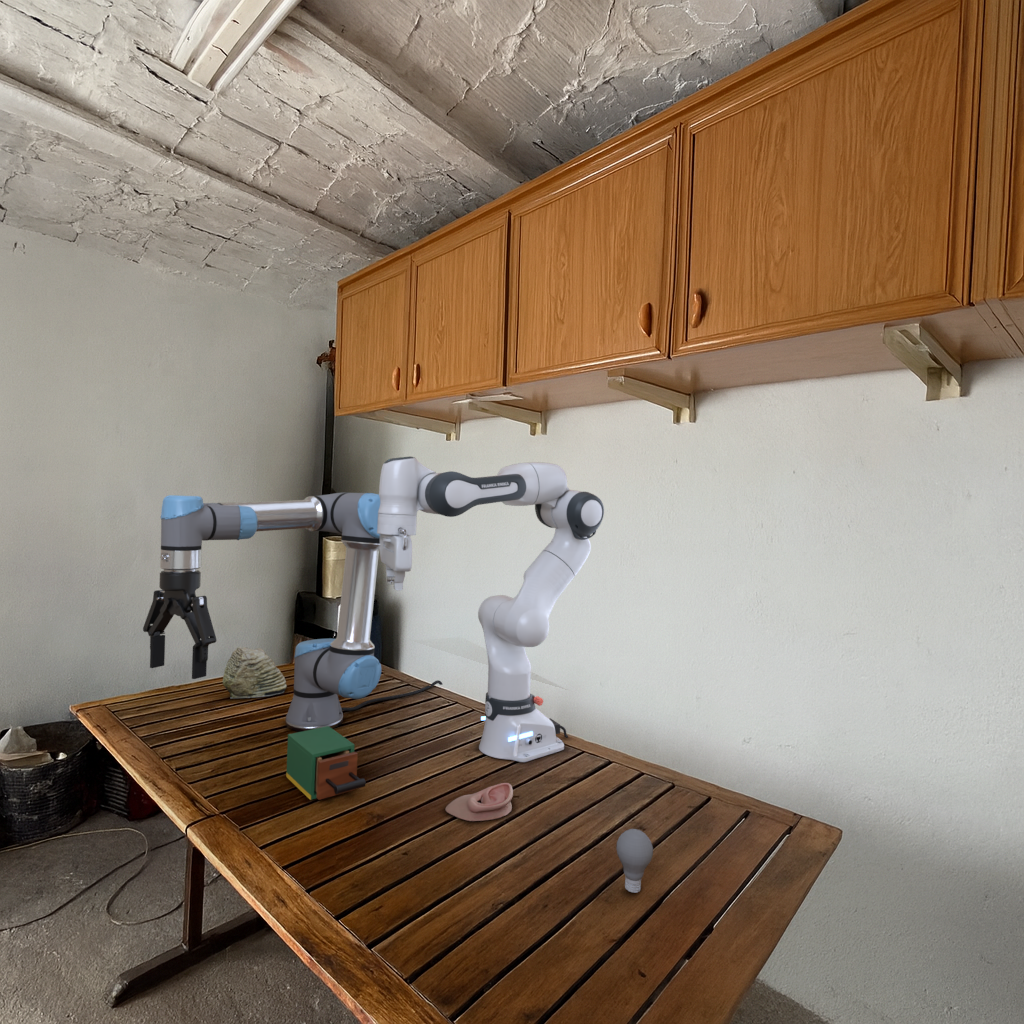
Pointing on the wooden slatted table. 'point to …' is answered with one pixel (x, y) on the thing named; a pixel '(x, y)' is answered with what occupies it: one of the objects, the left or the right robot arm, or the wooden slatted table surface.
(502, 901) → the wooden slatted table surface
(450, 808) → the anatomical model
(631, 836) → the light bulb
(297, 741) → the cabinet
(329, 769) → the drawer
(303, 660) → the left robot arm
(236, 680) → the fossil
